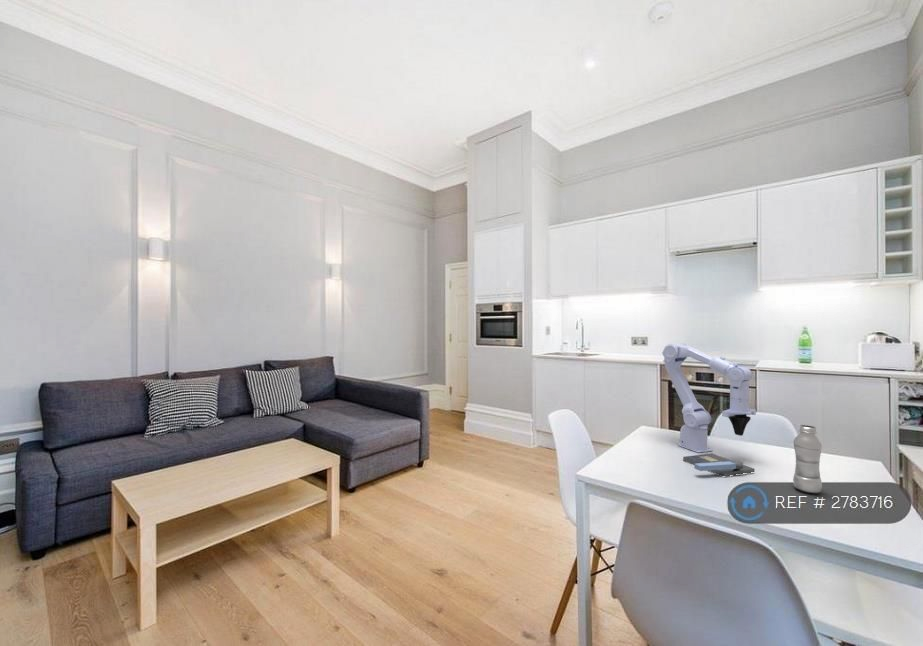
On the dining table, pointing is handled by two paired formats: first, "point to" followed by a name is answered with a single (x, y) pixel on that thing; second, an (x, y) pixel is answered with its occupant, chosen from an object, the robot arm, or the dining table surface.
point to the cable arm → (719, 465)
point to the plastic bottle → (807, 460)
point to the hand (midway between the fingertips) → (738, 434)
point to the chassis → (715, 458)
